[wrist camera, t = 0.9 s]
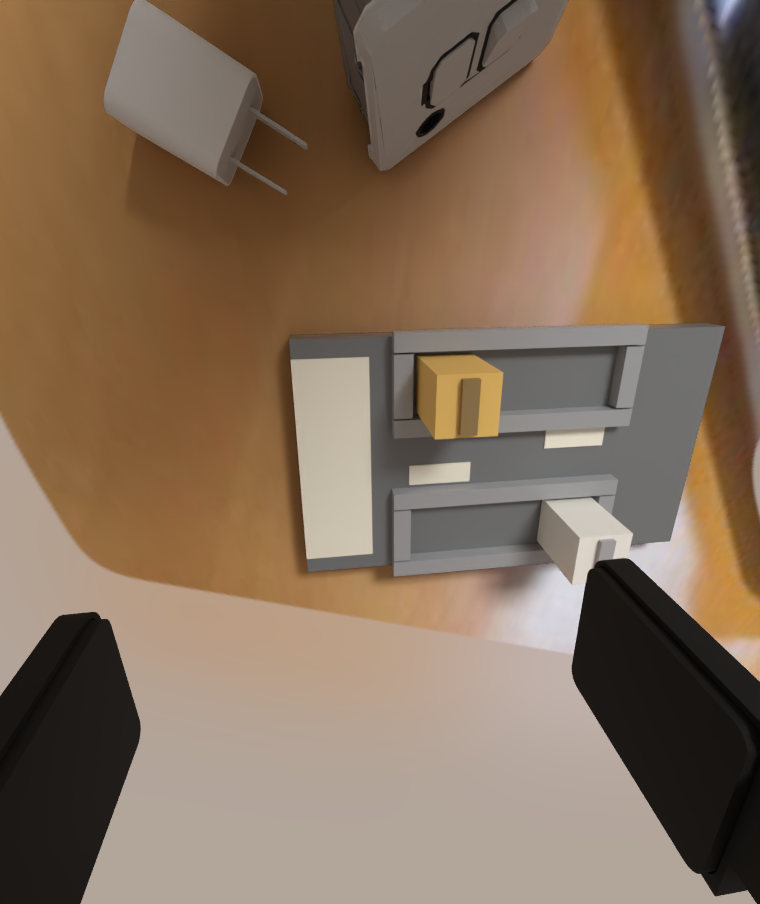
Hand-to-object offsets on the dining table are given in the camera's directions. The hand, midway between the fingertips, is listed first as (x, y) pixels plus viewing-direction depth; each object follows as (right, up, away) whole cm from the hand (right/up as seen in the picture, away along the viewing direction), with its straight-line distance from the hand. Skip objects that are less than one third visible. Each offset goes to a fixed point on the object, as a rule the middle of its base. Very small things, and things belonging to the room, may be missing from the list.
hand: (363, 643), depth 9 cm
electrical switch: (+2, +22, +12) cm, 25 cm away
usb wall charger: (-7, +18, +12) cm, 23 cm away
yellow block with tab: (+4, +7, +16) cm, 18 cm away
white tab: (+12, 0, +21) cm, 24 cm away
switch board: (+8, +4, +20) cm, 22 cm away
